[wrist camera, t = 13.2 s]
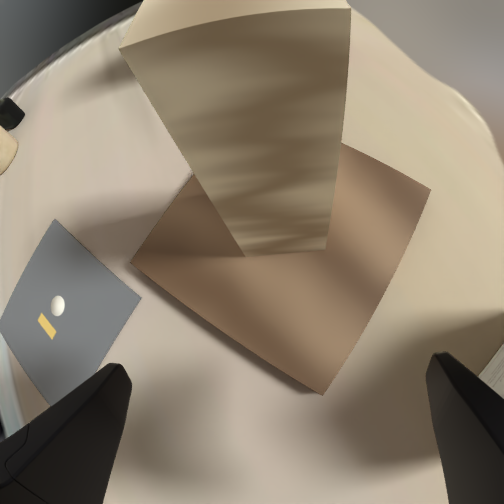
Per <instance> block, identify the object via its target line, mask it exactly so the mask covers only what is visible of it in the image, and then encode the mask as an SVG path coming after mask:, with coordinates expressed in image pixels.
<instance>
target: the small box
mask: <svg viewBox="0 0 504 504" xmlns="http://www.w3.org/2000/svg"><path fill="white" fill-rule="evenodd" d="M478 377H479V378H480V379H481V380H482V381H484V382H485V383H486V384H487V385H488V386H489V387H491V388H492V389H493V390H494V391H495V392H497V393H498V394H499V395H500V396H501V397H502V398H504V343H503V345H502V346H501V347H500V349H499V350H498V351H497V353H496V354H495V355H494V357H493V358H492V359H491V361H490V362H489V363H488V365H487V366H486V367H485V368H484V370H483V371H482V372H481V373H480V374H479V376H478Z"/></svg>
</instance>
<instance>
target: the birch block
mask: <svg viewBox="0 0 504 504" xmlns="http://www.w3.org/2000/svg"><path fill="white" fill-rule="evenodd" d="M350 27H351V7H350V6H349V5H348V3H347V2H346V0H144V1H143V3H142V5H141V6H140V8H139V10H138V12H137V14H136V15H135V17H134V19H133V21H132V23H131V25H130V27H129V29H128V31H127V33H126V35H125V37H124V39H123V41H122V43H121V45H120V47H119V51H120V52H121V54H122V56H123V57H124V59H125V61H126V62H127V64H128V66H129V67H130V69H131V71H132V72H133V74H134V76H135V77H136V79H137V81H138V82H139V84H140V86H141V87H142V89H143V90H144V92H145V94H146V95H147V97H148V99H149V100H150V102H151V104H152V105H153V107H154V109H155V110H156V112H157V114H158V115H159V117H160V119H161V120H162V122H163V123H164V125H165V127H166V128H167V130H168V132H169V133H170V135H171V137H172V138H173V140H174V142H175V143H176V145H177V146H178V148H179V150H180V151H181V153H182V155H183V156H184V158H185V160H186V161H187V163H188V164H189V166H190V168H191V169H192V171H193V173H194V174H195V176H196V177H197V179H198V181H199V182H200V184H201V186H202V187H203V189H204V190H205V192H206V194H207V195H208V197H209V199H210V200H211V202H212V203H213V205H214V207H215V208H216V210H217V212H218V213H219V215H220V216H221V218H222V220H223V221H224V223H225V224H226V226H227V228H228V229H229V231H230V233H231V234H232V236H233V237H234V239H235V241H236V242H237V244H238V245H239V247H240V249H241V250H242V252H243V253H244V255H245V257H252V256H263V255H274V254H285V253H295V252H306V251H317V250H325V248H326V242H327V237H328V231H329V225H330V219H331V212H332V206H333V199H334V193H335V186H336V179H337V171H338V164H339V156H340V148H341V140H342V131H343V121H344V112H345V101H346V90H347V78H348V64H349V48H350Z"/></svg>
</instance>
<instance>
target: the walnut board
mask: <svg viewBox="0 0 504 504" xmlns="http://www.w3.org/2000/svg"><path fill="white" fill-rule="evenodd" d="M430 191H431V189H429V188H427V187H426V186H424V185H422V184H420V183H419V182H417V181H415V180H413V179H412V178H410V177H408V176H406V175H404V174H403V173H401V172H399V171H397V170H395V169H393V168H391V167H390V166H388V165H386V164H384V163H382V162H380V161H378V160H376V159H374V158H372V157H370V156H368V155H366V154H364V153H362V152H360V151H358V150H356V149H354V148H351V147H349V146H347V145H345V144H343V143H341V148H340V156H339V164H338V171H337V179H336V186H335V193H334V199H333V206H332V212H331V219H330V225H329V231H328V237H327V242H326V248H325V250H317V251H306V252H295V253H285V254H274V255H263V256H252V257H245V255H244V253H243V252H242V250H241V249H240V247H239V245H238V244H237V242H236V241H235V239H234V237H233V236H232V234H231V233H230V231H229V229H228V228H227V226H226V224H225V223H224V221H223V220H222V218H221V216H220V215H219V213H218V212H217V210H216V208H215V207H214V205H213V203H212V202H211V200H210V199H209V197H208V195H207V194H206V192H205V190H204V189H203V187H202V186H201V184H200V182H199V181H198V179H197V177H196V176H195V174H194V175H193V176H192V177H191V179H190V180H189V181H188V183H187V184H186V185H185V186H184V188H183V189H182V190H181V192H180V193H179V194H178V196H177V197H176V198H175V200H174V201H173V202H172V204H171V205H170V206H169V208H168V209H167V210H166V212H165V213H164V215H163V216H162V217H161V219H160V220H159V221H158V223H157V224H156V226H155V227H154V228H153V230H152V231H151V233H150V234H149V236H148V237H147V238H146V240H145V241H144V243H143V244H142V246H141V247H140V249H139V250H138V251H137V253H136V254H135V256H134V257H133V259H132V260H131V262H130V263H131V264H133V265H134V266H135V267H136V268H138V269H139V270H140V271H141V272H143V273H144V274H145V275H146V276H148V277H149V278H150V279H152V280H153V281H154V282H155V283H157V284H158V285H159V286H161V287H162V288H163V289H165V290H166V291H167V292H168V293H170V294H171V295H172V296H174V297H175V298H176V299H178V300H179V301H180V302H182V303H183V304H185V305H186V306H187V307H189V308H190V309H191V310H193V311H194V312H195V313H197V314H198V315H200V316H201V317H202V318H204V319H205V320H207V321H208V322H209V323H211V324H212V325H214V326H215V327H216V328H218V329H219V330H221V331H222V332H224V333H225V334H227V335H228V336H229V337H231V338H232V339H234V340H235V341H237V342H238V343H240V344H241V345H243V346H244V347H246V348H247V349H249V350H250V351H252V352H253V353H255V354H256V355H258V356H259V357H261V358H262V359H264V360H265V361H267V362H268V363H270V364H272V365H273V366H275V367H276V368H278V369H279V370H281V371H283V372H284V373H286V374H287V375H289V376H291V377H292V378H294V379H295V380H297V381H299V382H300V383H302V384H304V385H305V386H307V387H309V388H310V389H312V390H314V391H315V392H317V393H319V394H320V395H322V396H323V394H324V393H325V391H326V390H327V389H328V387H329V386H330V384H331V383H332V381H333V379H334V378H335V376H336V375H337V373H338V372H339V370H340V369H341V367H342V366H343V364H344V362H345V361H346V359H347V358H348V356H349V354H350V353H351V351H352V349H353V348H354V346H355V345H356V343H357V341H358V339H359V338H360V336H361V334H362V333H363V331H364V329H365V327H366V326H367V324H368V322H369V320H370V319H371V317H372V315H373V313H374V311H375V310H376V308H377V306H378V304H379V302H380V300H381V299H382V297H383V295H384V293H385V291H386V289H387V287H388V285H389V283H390V281H391V279H392V277H393V275H394V273H395V271H396V269H397V267H398V265H399V263H400V261H401V259H402V257H403V255H404V252H405V250H406V248H407V246H408V244H409V242H410V239H411V237H412V235H413V233H414V230H415V228H416V226H417V223H418V221H419V219H420V216H421V214H422V211H423V209H424V206H425V204H426V202H427V199H428V196H429V194H430Z"/></svg>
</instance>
